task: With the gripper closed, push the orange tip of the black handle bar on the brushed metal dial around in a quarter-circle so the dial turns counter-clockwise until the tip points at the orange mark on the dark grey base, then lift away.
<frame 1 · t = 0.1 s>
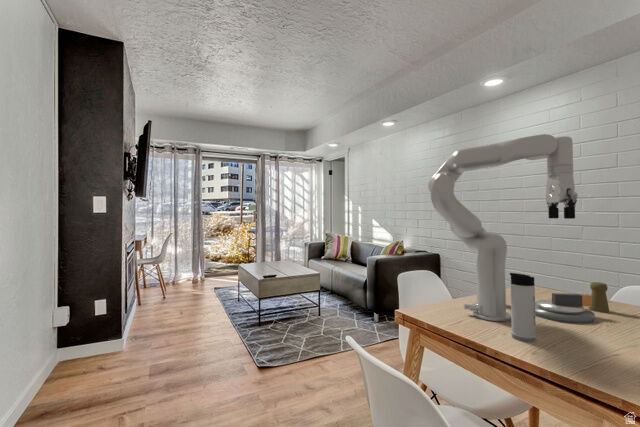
hand: (561, 218, 114), 37 cm above the table, tool pointing down, fingers open, 9 cm apart
dial base: (559, 314, 119), on the table
dial: (563, 301, 119), point 5 cm above the table, hinge at 0.0°
cork: (599, 310, 124), on the table
travel mug: (522, 338, 97), on the table
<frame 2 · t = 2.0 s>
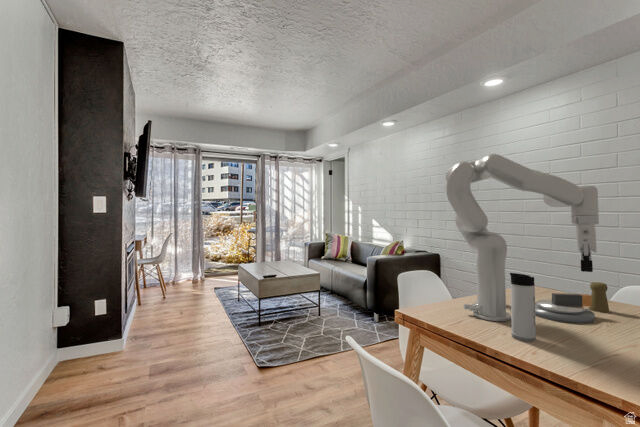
hand: (586, 271, 112), 18 cm above the table, tool pointing down, fingers closed
nothing on the table moved.
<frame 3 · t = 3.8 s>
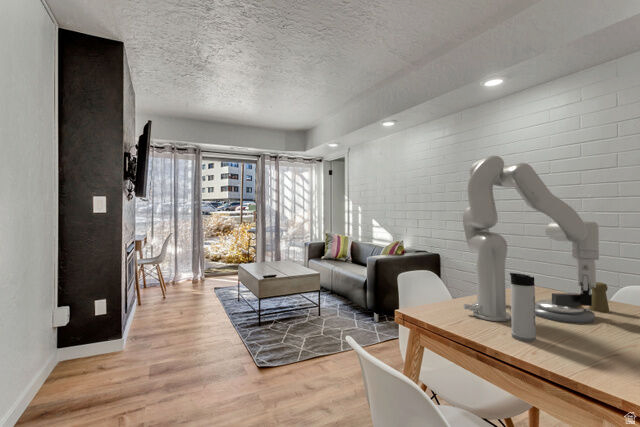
hand: (586, 304, 115), 5 cm above the table, tool pointing down, fingers closed
dial: (563, 301, 119), point 5 cm above the table, hinge at 5.6°, touching gripper
everything else where it was.
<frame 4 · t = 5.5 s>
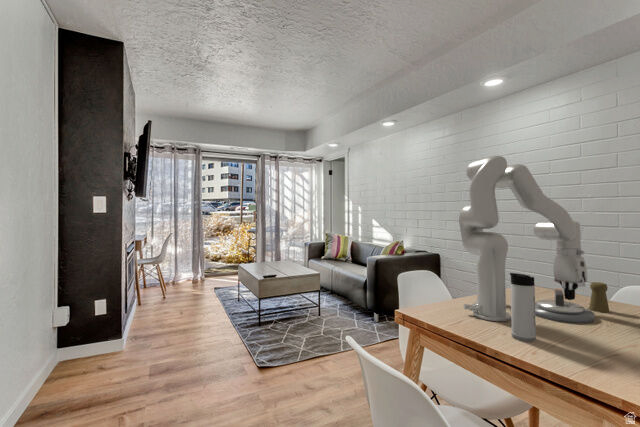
hand: (569, 299, 123), 5 cm above the table, tool pointing down, fingers closed
dial: (559, 300, 120), point 5 cm above the table, hinge at 65.6°, touching gripper
everything else where it was.
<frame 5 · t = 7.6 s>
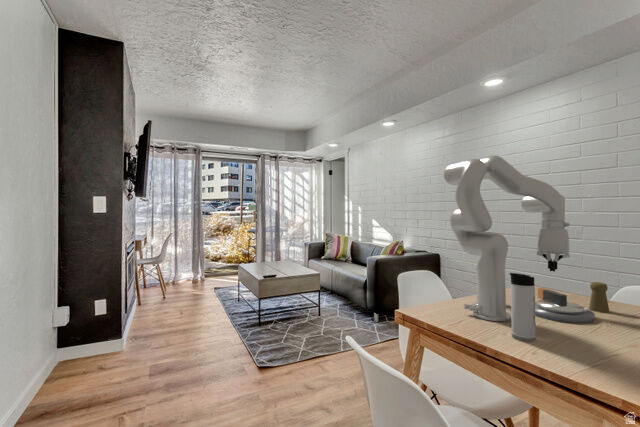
hand: (552, 270, 126), 15 cm above the table, tool pointing down, fingers closed
dial: (556, 300, 120), point 5 cm above the table, hinge at 100.7°
everything else where it was.
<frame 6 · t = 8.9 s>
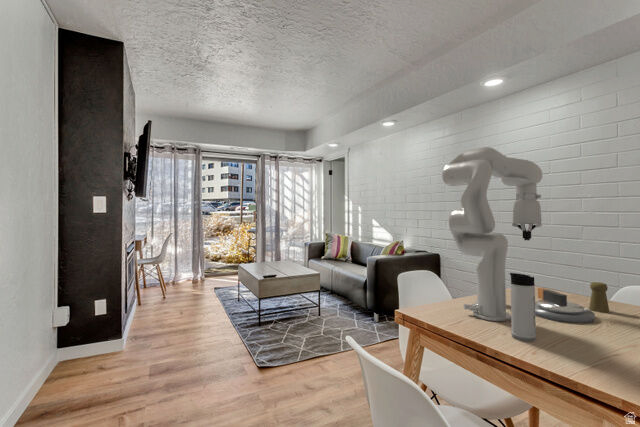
hand: (527, 240, 136), 27 cm above the table, tool pointing down, fingers closed
nothing on the table moved.
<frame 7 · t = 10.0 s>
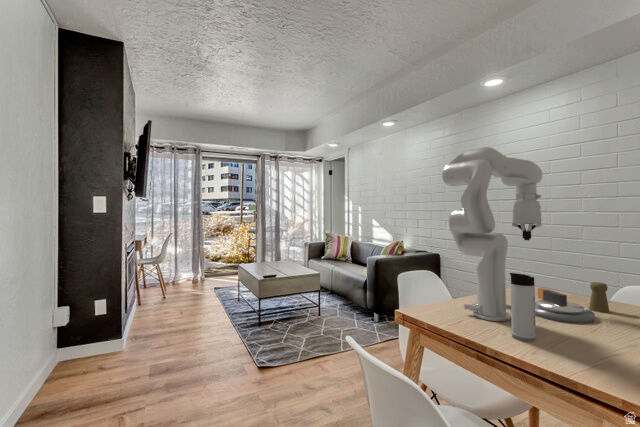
hand: (527, 240, 136), 27 cm above the table, tool pointing down, fingers closed
nothing on the table moved.
at the end: dial at +101° (first picture: +0°); the gripper is holding nothing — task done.
